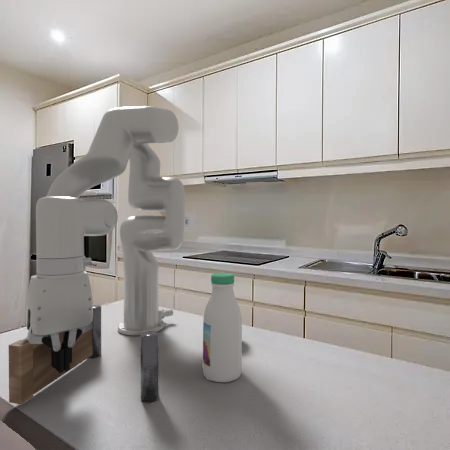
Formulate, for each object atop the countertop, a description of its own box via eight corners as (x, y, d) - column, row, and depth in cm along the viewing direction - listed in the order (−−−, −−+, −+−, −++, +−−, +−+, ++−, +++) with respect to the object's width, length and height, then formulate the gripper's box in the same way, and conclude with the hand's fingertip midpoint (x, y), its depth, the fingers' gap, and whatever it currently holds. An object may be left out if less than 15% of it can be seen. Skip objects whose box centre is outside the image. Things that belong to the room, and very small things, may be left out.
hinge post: (98, 351, 75) (97, 304, 75) (103, 355, 73) (103, 307, 73) (84, 355, 73) (84, 307, 73) (90, 359, 71) (89, 309, 70)
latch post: (152, 391, 58) (152, 330, 58) (161, 397, 56) (161, 334, 56) (137, 397, 56) (137, 334, 56) (146, 404, 54) (146, 339, 54)
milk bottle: (246, 368, 67) (246, 272, 67) (235, 386, 60) (235, 278, 59) (211, 362, 70) (211, 270, 69) (196, 379, 62) (196, 276, 62)
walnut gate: (94, 355, 71) (93, 312, 71) (21, 404, 52) (21, 346, 52) (84, 354, 71) (84, 311, 71) (9, 402, 53) (8, 345, 52)
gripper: (94, 260, 65) (94, 350, 66) (6, 268, 55) (7, 376, 55) (111, 264, 60) (111, 362, 60) (17, 274, 49) (18, 393, 50)
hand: (61, 368), depth 58 cm, fingers closed
